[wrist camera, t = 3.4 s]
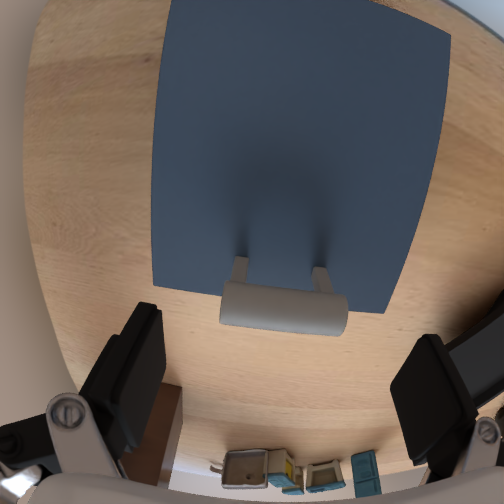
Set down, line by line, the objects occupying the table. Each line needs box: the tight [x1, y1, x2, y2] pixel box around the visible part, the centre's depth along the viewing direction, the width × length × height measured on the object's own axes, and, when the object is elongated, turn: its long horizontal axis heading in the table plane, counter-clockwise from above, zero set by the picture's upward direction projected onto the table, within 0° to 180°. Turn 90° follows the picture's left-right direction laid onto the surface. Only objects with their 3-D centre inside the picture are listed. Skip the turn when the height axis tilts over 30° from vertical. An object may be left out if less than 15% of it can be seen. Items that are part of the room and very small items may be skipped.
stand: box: [119, 383, 183, 489], centre depth 27 cm, size 10×10×18 cm
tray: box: [444, 290, 504, 409], centre depth 27 cm, size 30×23×5 cm
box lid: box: [151, 0, 451, 336], centre depth 11 cm, size 16×14×5 cm
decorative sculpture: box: [210, 449, 269, 489], centre depth 40 cm, size 16×10×7 cm, turn 172°
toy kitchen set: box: [262, 449, 382, 498], centre depth 37 cm, size 18×14×11 cm
